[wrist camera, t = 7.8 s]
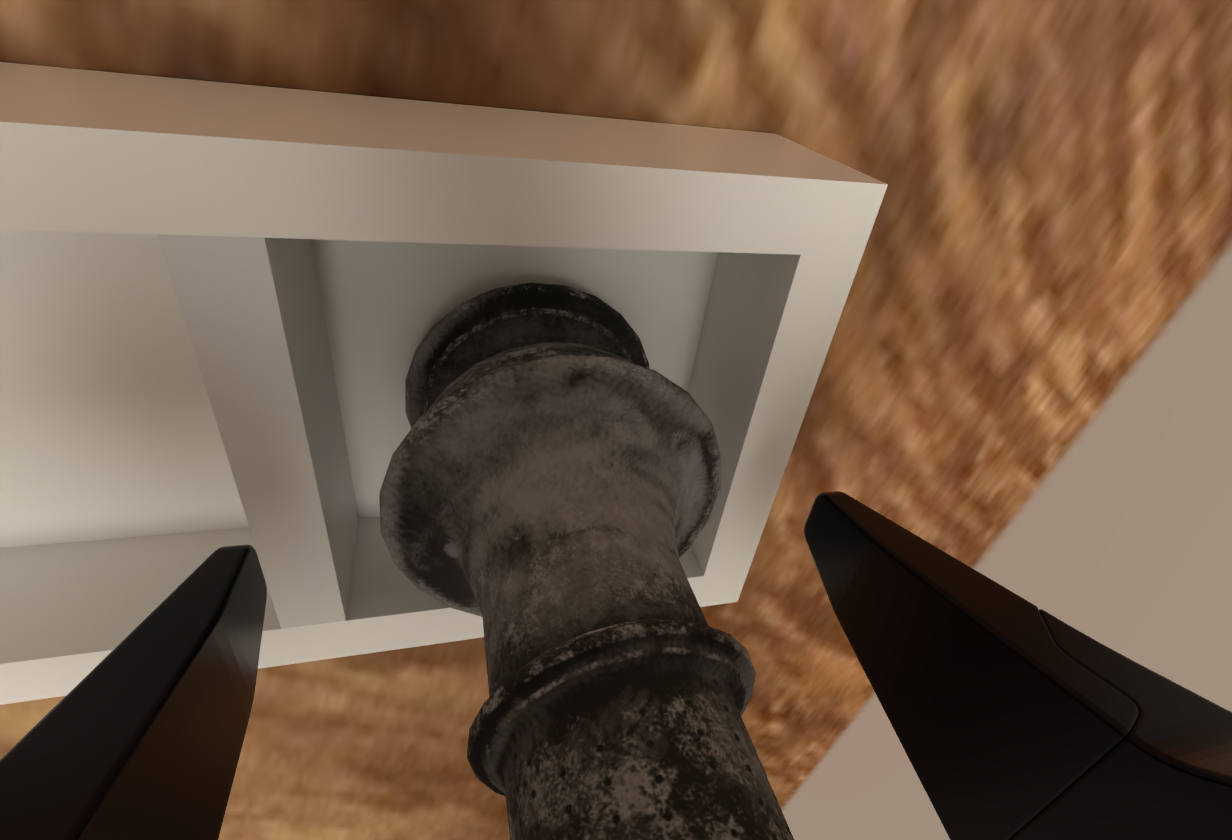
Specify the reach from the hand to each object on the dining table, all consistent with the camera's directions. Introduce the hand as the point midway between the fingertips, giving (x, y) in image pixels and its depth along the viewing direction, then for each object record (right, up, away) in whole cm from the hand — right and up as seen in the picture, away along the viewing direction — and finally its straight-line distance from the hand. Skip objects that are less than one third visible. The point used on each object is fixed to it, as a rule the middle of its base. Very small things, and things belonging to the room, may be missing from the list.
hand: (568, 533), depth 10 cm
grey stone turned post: (-1, +2, +4) cm, 4 cm away
